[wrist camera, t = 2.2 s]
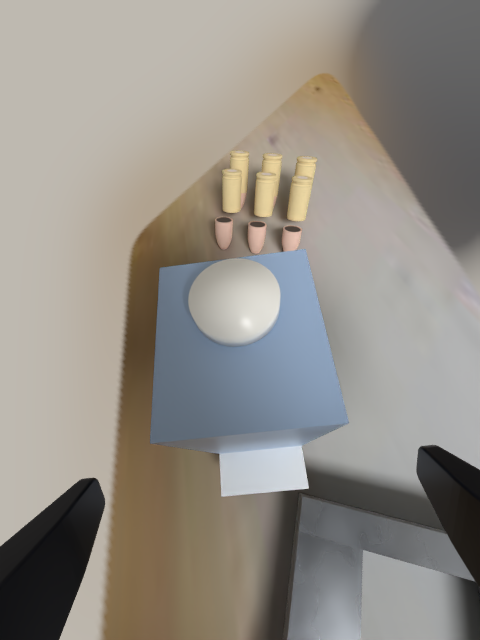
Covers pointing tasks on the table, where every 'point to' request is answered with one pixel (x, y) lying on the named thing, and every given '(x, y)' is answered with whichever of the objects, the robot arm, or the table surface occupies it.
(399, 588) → the table surface
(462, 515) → the robot arm
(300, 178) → the ammunition
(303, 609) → the plate
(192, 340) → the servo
